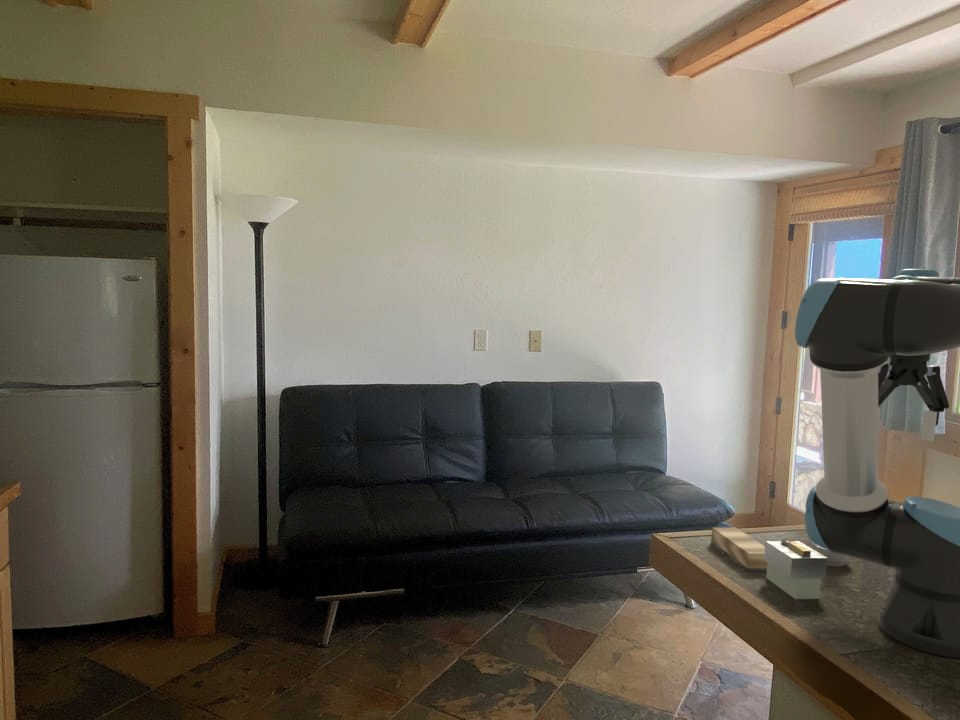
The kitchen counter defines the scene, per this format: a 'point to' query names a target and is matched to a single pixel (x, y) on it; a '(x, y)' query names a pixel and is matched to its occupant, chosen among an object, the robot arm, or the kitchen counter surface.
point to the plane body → (740, 548)
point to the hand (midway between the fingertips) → (899, 439)
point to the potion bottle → (830, 556)
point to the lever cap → (795, 559)
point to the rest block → (795, 584)
